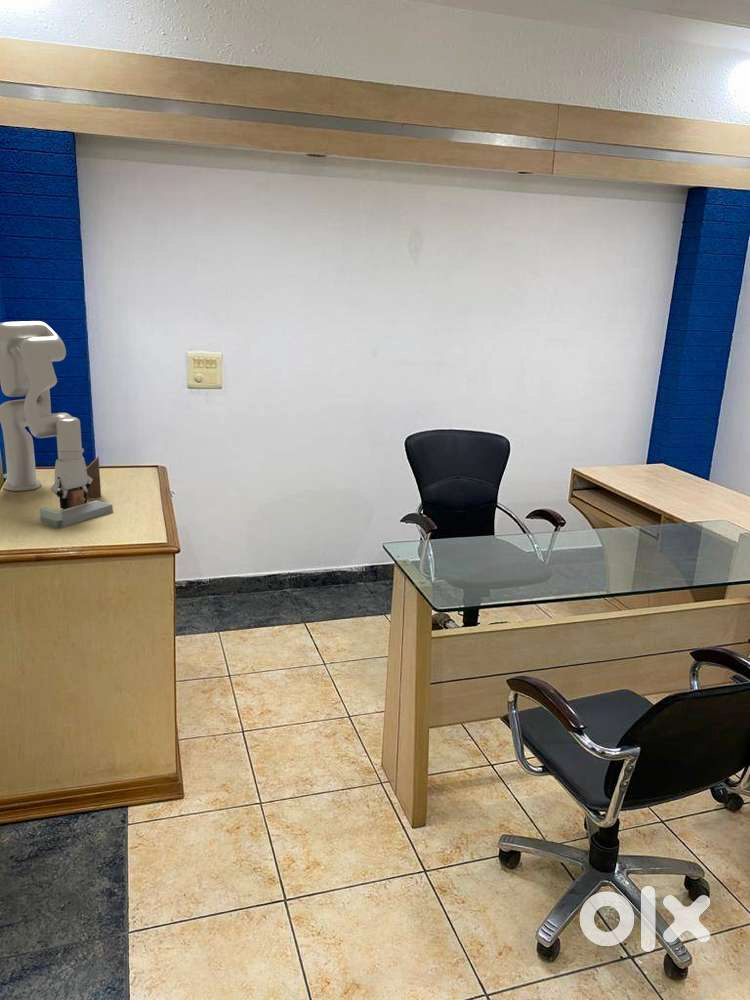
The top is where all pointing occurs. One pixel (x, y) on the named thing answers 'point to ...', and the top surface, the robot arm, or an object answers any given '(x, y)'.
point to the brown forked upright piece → (94, 479)
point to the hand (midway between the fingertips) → (73, 505)
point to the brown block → (75, 497)
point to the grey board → (74, 514)
